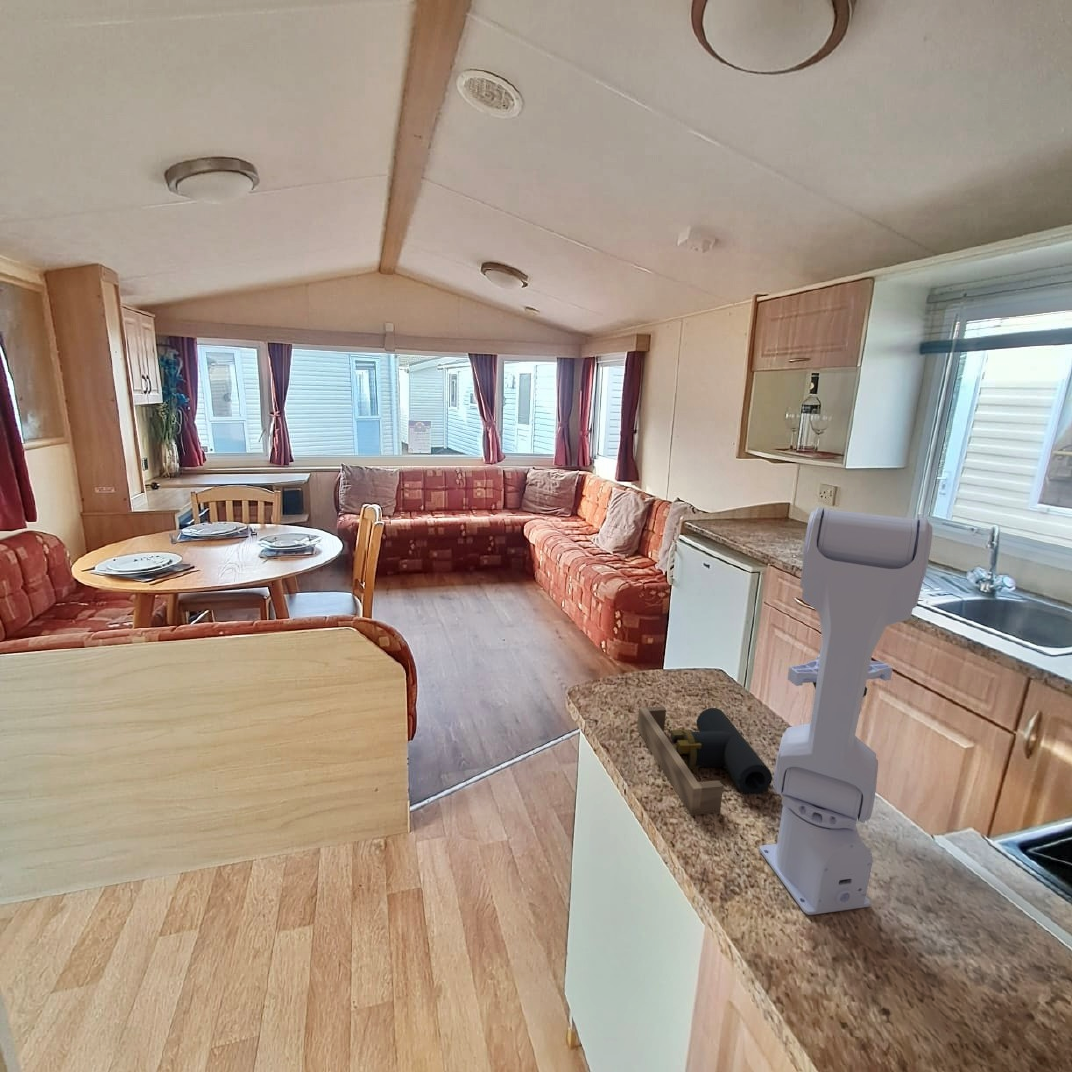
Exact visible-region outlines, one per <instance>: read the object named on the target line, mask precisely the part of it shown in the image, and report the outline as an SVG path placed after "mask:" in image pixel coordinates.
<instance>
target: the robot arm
mask: <svg viewBox="0 0 1072 1072" xmlns="http://www.w3.org/2000/svg"><path fill="white" fill-rule="evenodd" d="M932 542H933V526H932V524H931V523H930V522H929V521H928V519H927V518H925V517H918V519H916V518H910V517H900V516H892V515H883V514H875V513H865V512H856V511H847V510H839V509H838V510H837V509H827V508H826V509H825V507H824V506H817V507H816V508H815V509H814V510H812V511H811V512H810V515H809V517H808V521H807V527H806V530H805V537H804V544H803V552H802V566H801V567H802V568H801V575H800V584H799V586H800V589H802V592H801V600H802V601H804V602H805V603H807V604H808V605H809V606H811V608H813V609H814V610H815V611H816V612H817V613H818V616H819V625H820V634H821V644H820V651H819V654H818V655H817V656H816V659H815V660H811V661H809V662H804V663H802V664H799V665H790V666H789V667H788V673H787V680H788V681H789V682H790V683H791V684H793V685H795V687H800V686H804V685H803V684H807V683H809V684H810V683H812V685H813V687H814V689H815V691H814V698H813V703H812V710H811V711H812V712H811V718H810V722H809V723H804V724H803V723H802V724H799V725H794V726H790V727H787V728H786V730H785V732H783V733H782V737H781V741H780V745H779V748H778V753H777V755H776V761H775V762H776V763H775V768H774V773H773V778H772V787H773V789H774V790H775V793H776V794H777V795H781V796H782V798H781V805H782V810H781V817H780V822H779V829H778V835H777V840H776V841H777V842H776V843H774V844H764V845H760V846H759V848H758V849H759V852H760V854H761V855H762V856H763V857H764V859H765V860H766V861H767V863H768V865H769V866H770V867H771V869H772V871H774V873H775V874H776V876H777V877H778V878H779V880H780V881H781V882H782V884H783V886H785V889H787V891H788V893H790V895H791V896H792V898H793V899H794V900H795V902H796V903H797V904H798V906H799V907H800V909H801V910H802V911H803V913H805V914H806V915H807V916H808V915H809V916H810V915H811V916H812V915H820V914H825V913H832V912H840V911H841V912H842V911H848V910H854V909H863V908H868V907H870V906H871V900H870V899H869V898H868V897H867V891H868V886H869V882H870V876H871V872H872V866H873V855H872V852H871V850H870V849H869V847H868V846H867V845H866V842H864V840H863V839H862V837H861V835H860V833H859V830H858V827H857V821H858V823H862V824H865V822H867V821H869V820H871V818H872V814H873V810H874V803H875V798H876V797H875V796H876V793H877V792H876V790H877V783H878V782H877V781H878V773H879V772H878V771H879V760H878V759H877V753H876V752H875V751H874V750H873V749H872V748H871V747H869V746H868V745H867V744H866V743H865V742H863V741H862V740H861V739H860V738H858V737H857V736H856V732H857V729H858V723H859V718H860V714H861V710H862V704H863V700H864V697H866V696H867V694H868V688H867V682H868V681H867V680H874V679H875V680H877V679H881V680H882V681H891V679H892V673H893V668H894V667H892V666H891V665H889V664H887V663H885V662H884V661H874V660H873V661H872V657H873V653H874V650H875V649H876V646H877V645H878V643H879V641H880V639H881V637H882V635H883V633H884V632H885V630H886V628H887V627H888V626H890V625H893V624H897V623H900V622H903V621H906V620H911V617H912V614H913V609H915V608H917V606H918V603H919V598H920V595H921V591H922V587H923V586H922V585H923V583H924V579H925V576H926V573H927V569H928V564H929V560H930V556H931V555H930V554H931V547H932Z"/></svg>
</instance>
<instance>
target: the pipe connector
mask: <svg viewBox="0 0 1072 1072" xmlns="http://www.w3.org/2000/svg"><path fill="white" fill-rule="evenodd" d="M696 727H697V730H698V731H693V730H692V729H671V730H670V741H671V742H672V743H673V744H676V745H673V747H674V748H675V750H676V751H677V753H678V754H679V755H680V757H681V758H682V760H683V761H684V763H685V764H686V766H687V767H688V768H689V770H690V771H692V770H699V768H713V767H714V768H715V767H717V768H719V767H721V768H722V767H723V769H725V770H726V772H727V774H728V775H729V776H730V778H731V780H732V781H733V783H734V784H735V786H737V788H738V789H739V791H740V792H741V793H742V794H744V795H747V796H748V795H762V794H763V793H764V792H766V791H768V789H769V788H770V786H771V785H772V782H773V775H772V771H771V770H770V769H769V767H768V766H767V765H766V764H765V762H764V761H763V760H762V759H761V758H760V756H759V754H757V753H756V751H755V750H754V749H753V747H752V746H751V745H750V744H749V743H748V741H747V740H746V739H745V738H744V736H743V735H742V734H741V732H740V731H739V730H738V728H736V726H735V725H734V724H733V722H732V721H731V720H730V719H729V718H728V716H727V715H726V714H725V712H724V711H722V710H721V709H720V708H717V707H709V708H706V709H704V710H703V711H702V712H701V713H699V715H698V717H697V719H696Z"/></svg>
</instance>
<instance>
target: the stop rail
mask: <svg viewBox="0 0 1072 1072" xmlns="http://www.w3.org/2000/svg"><path fill="white" fill-rule="evenodd" d="M666 713H667V709H666V708H665V706H663V705H661V706H659V705H658V706H645V707H639V708H638V716H637V728H636V729H637V731H638V733H639V734H641V735H640V736H641V738H642V739H643V741H644V742H645V745H646V746H647V747H648V749H649V751H650V752H651V753H652V756H653V757H654V759H655V761H656V762H657V763H658V766H659V767H660V768H661V770H662V771H663V773H664V774H665V776H666V778H667V779H668V782H669V783H670V784H671V786H672V788H673V789H674V791H675V792H676V794H677V796H678V797H679V799H680V800H681V802H682V804H683V806H684V807H685V809H686V810H687V812H688V813H689V815H690V816H697V815H699V816H700V815H707V814H714V813H715V814H718V813H721V808H722V807H721V806H722V801H723V800H722V799H723V794H724V792H723V791H724V784H722V783H721V781H720V780H708V781H707V780H706V781H698V780H697V779H696V777H695V776H694V774H693V773H692V770H689V768H688V767H687V766H686V764H685V763H684V761H683V760H682V758H681V757H680V755H679V754H678V753H677V751H676V750H675V748H674V747H673V746H674V745H673V744H672V743H671V742H672V741H671V740H670V739H669V738H668V736H667V735H666V734H665V724H666Z"/></svg>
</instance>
